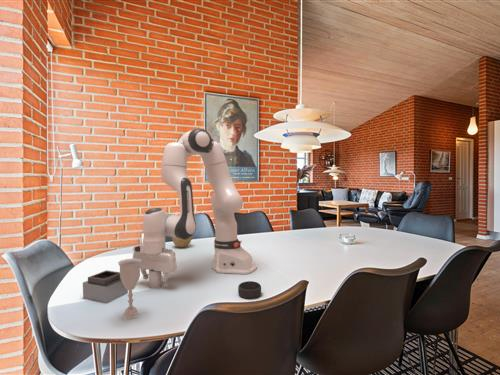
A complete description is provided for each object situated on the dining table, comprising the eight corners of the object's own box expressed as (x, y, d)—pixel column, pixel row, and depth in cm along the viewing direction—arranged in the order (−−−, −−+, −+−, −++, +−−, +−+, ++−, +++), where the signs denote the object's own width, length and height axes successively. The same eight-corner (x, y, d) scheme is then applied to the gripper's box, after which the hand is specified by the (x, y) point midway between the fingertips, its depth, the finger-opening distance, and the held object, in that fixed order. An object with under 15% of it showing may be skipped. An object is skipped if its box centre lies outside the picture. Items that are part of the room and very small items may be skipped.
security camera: (164, 285, 119) (163, 266, 119) (156, 289, 115) (156, 270, 114) (154, 283, 121) (154, 265, 121) (146, 287, 116) (146, 268, 116)
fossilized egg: (171, 250, 176) (171, 226, 176) (172, 245, 188) (172, 223, 188) (192, 248, 179) (192, 225, 178) (191, 244, 191) (191, 222, 191)
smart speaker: (233, 296, 108) (233, 286, 107) (246, 288, 115) (246, 279, 115) (253, 301, 103) (253, 291, 103) (265, 293, 110) (265, 283, 110)
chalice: (114, 318, 91) (112, 263, 91) (130, 309, 98) (128, 257, 97) (131, 322, 89) (130, 265, 88) (147, 312, 95) (146, 259, 94)
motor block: (127, 292, 111) (127, 272, 111) (106, 303, 102) (106, 281, 102) (98, 287, 117) (97, 268, 117) (75, 296, 108) (75, 276, 108)
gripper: (179, 247, 116) (180, 280, 117) (140, 243, 124) (141, 274, 124) (170, 251, 111) (170, 286, 111) (129, 247, 118) (130, 279, 118)
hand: (154, 280), depth 118 cm, fingers open, 8 cm apart
